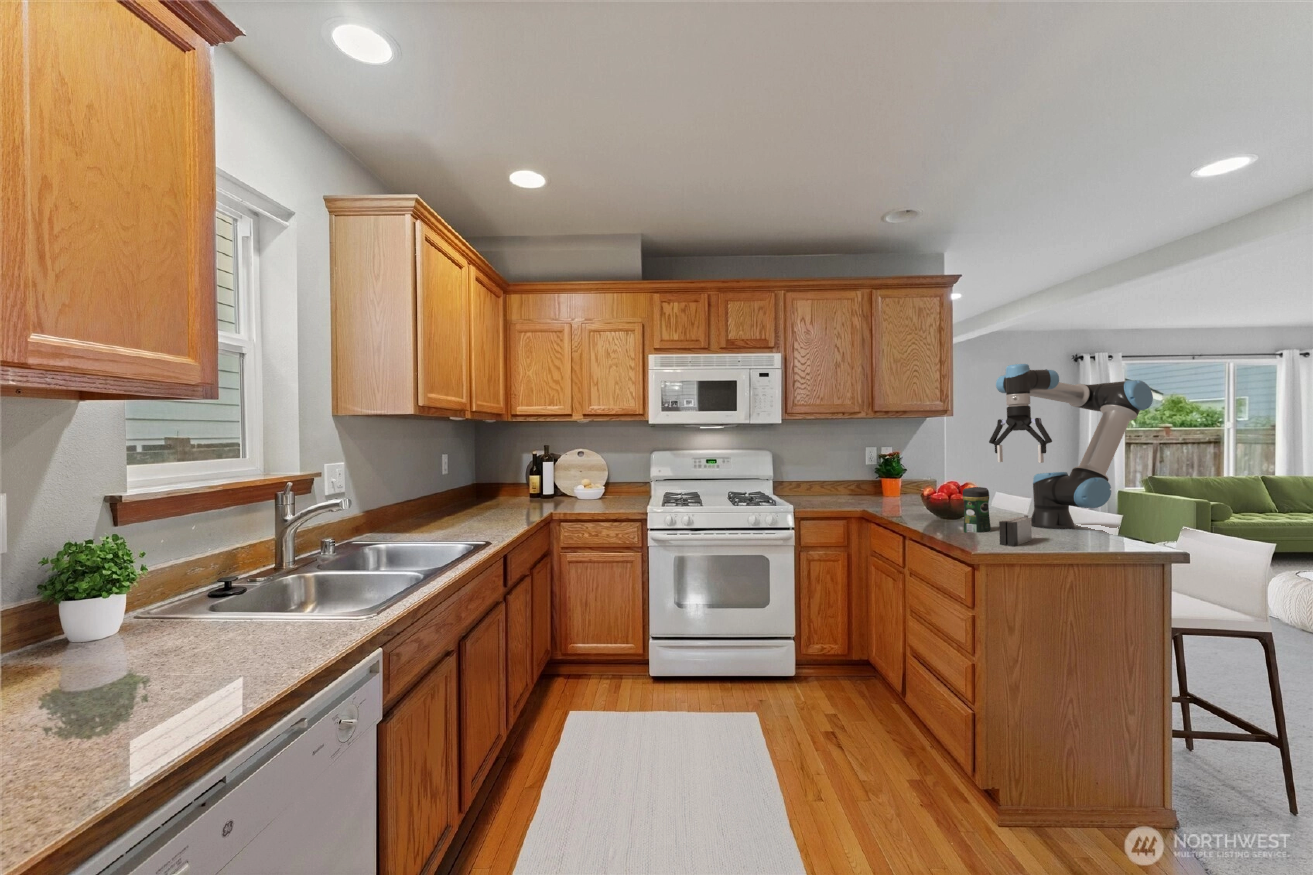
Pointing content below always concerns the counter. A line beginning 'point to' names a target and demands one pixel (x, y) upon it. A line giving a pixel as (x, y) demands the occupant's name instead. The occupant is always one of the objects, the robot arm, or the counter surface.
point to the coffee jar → (976, 510)
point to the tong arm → (1005, 530)
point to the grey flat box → (1019, 531)
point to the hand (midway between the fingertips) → (1020, 462)
